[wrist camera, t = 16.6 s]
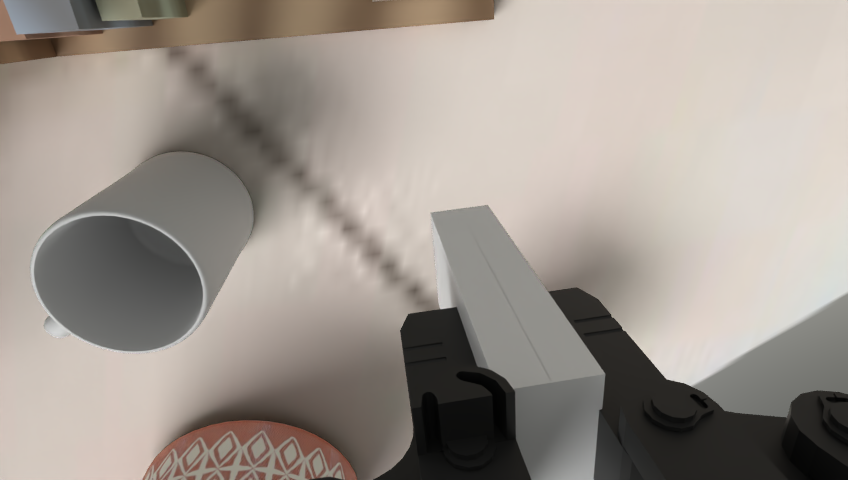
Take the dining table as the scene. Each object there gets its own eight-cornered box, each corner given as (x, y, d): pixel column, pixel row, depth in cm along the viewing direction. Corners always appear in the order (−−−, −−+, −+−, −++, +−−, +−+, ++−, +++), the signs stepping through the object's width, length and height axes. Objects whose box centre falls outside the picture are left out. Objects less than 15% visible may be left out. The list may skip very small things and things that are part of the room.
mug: (191, 124, 32) (112, 173, 22) (280, 220, 35) (245, 300, 26) (64, 225, 34) (-62, 312, 24) (159, 307, 37) (84, 413, 27)
